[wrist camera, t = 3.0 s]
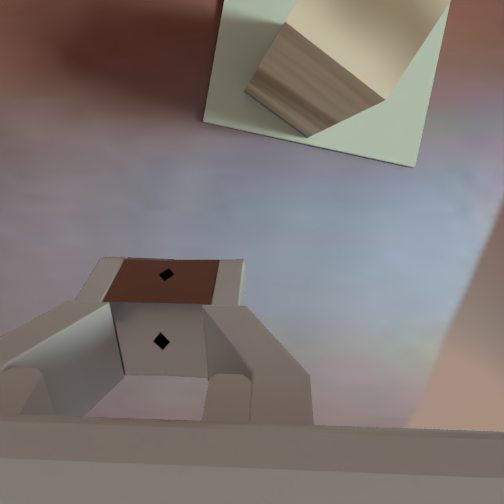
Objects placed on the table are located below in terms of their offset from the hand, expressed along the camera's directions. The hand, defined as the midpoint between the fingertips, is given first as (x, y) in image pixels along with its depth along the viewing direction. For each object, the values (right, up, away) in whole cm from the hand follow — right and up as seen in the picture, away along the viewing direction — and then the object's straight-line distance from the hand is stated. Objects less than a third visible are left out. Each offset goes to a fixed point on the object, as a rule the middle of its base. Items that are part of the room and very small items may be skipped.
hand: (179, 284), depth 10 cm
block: (+5, +13, +23) cm, 26 cm away
